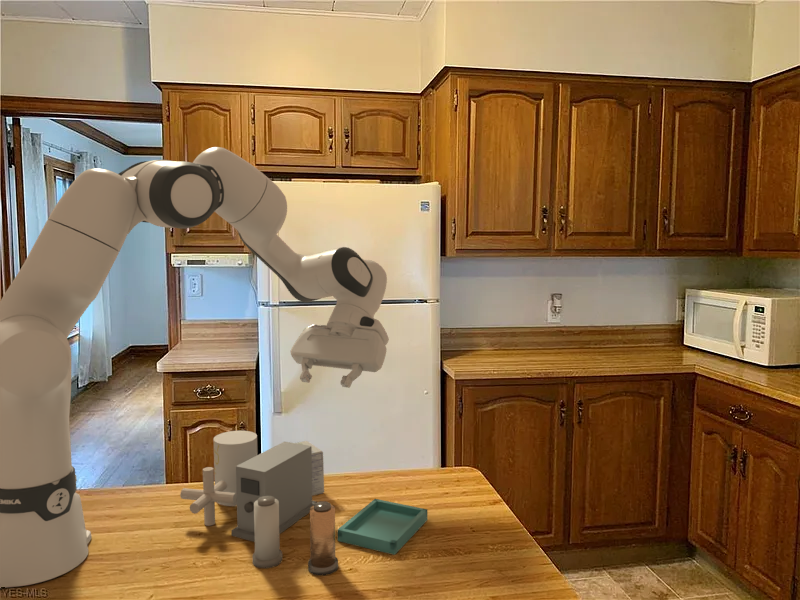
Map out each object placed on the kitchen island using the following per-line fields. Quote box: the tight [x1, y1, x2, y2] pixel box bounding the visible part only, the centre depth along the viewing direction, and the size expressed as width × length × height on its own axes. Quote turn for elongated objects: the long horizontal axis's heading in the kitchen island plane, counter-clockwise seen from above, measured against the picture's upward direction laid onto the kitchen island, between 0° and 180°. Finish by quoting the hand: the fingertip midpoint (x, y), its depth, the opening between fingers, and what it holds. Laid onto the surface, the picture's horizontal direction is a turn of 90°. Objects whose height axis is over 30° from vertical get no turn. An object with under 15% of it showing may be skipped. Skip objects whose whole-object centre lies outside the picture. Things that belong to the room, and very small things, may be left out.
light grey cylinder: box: [213, 430, 259, 507], centre depth 124 cm, size 8×8×12 cm
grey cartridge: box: [252, 496, 283, 569], centre depth 100 cm, size 5×5×10 cm
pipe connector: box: [179, 466, 237, 527], centre depth 113 cm, size 10×10×10 cm
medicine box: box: [295, 440, 325, 497], centre depth 128 cm, size 8×4×9 cm, turn 32°
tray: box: [336, 498, 428, 556], centre depth 111 cm, size 11×14×2 cm
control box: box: [231, 441, 318, 543], centre depth 114 cm, size 7×16×12 cm, turn 155°
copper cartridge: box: [307, 500, 339, 577], centre depth 98 cm, size 5×5×10 cm
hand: (324, 383), depth 127 cm, fingers open, 8 cm apart
